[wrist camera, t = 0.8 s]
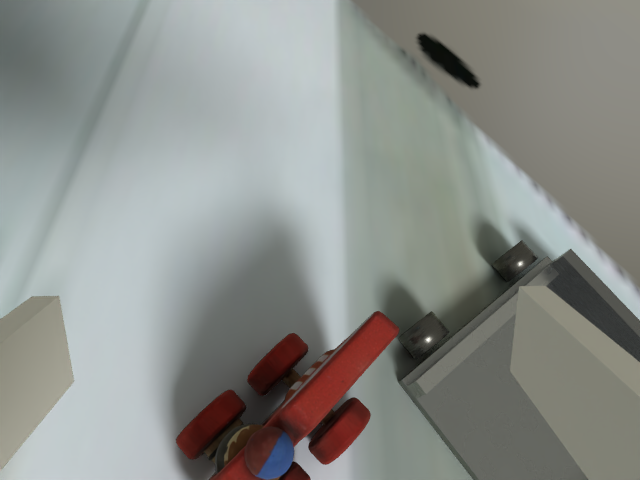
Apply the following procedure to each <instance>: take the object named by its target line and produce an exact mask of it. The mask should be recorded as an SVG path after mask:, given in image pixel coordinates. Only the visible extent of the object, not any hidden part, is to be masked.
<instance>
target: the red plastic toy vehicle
mask: <svg viewBox="0 0 640 480" xmlns="http://www.w3.org/2000/svg"><path fill="white" fill-rule="evenodd" d="M399 330H400V329H399V328H398V327H397V326H396V325H395V324H394V323H393V322H392V321H391V320H390V319H389V318H387V317H386V316H385V315H384V314H383V313H381V312H380V311H377V312H374V313H373V314H372V315H371V316H370V317H368V318H367V319H366V320H365V321H364V322H363V323H362V324H361V325H360V326H359V327H358V328H357V329H356V330H355V331H354V332H353V333H352V334H351V335H350V336H349V337H348V338H347V339H346V340H344V341H343V342H342V343H341V344H340V345H339V346H338V347H337V348H336V349H335V350H330V351H327V352H326V353H324V354H323V355H322V356H321V357H320V358H319V359H318V360H317V361H316V362H315V363H314V364H313V365H312V366H311V367H310V368H309V369H308V370H307V371H306V372H305V373H304V375H303V376H302V377H300V376H299V374H298V373H297V372H296V371H295V370H293V368H294V367H295V366H296V365H297V364H298V363H299V362H300V360H301V359H302V358H303V357H304V356H305V355H306V354H307V352H308V346H307V344H306V343H304V342H303V340H302V339H301V338H300V337H299V336H298V335H296V334H295V333H291V334H289V335H287V336H286V337H285V338H284V339H282V340H281V341H280V342H279V343H278V344H277V345H276V346H275V347H274V348H273V349H272V350H271V351H270V352H269V353H268V354H267V355H266V356H265V357H263V359H262V360H261V361H260V362H259V363H258V364H257V365H256V366H255V367H254V369H253V370H252V371H251V372H250V374H249V375H248V379H247V381H248V383H249V384H250V385H251V387H252V388H253V389H254V390H255V391H256V392H257V393H258V394H259V395H261V396H265V395H266V394H268V393H269V392H270V391H271V390H272V389H273V388H274V387H275V386H276V385H277V384H278V383H279V382H280V381H281V380H283V381H284V382H285V384H286V385H287V386H288V387H289V388H290V389H289V391H288V392H287V394H286V397H285V400H284V401H283V402H282V403H281V405H280V406H279V407H278V408H277V409H276V410H275V411H274V412H273V413H272V414H271V415H270V416H269V417H268V418H267V419H266V420H265V421H264V422H263V423H262V424H261V425H258V424H244V423H243V422H242V421H241V420H240V417H241V416H242V414H243V413H244V412H245V410H246V405H245V403H244V402H243V401H242V400H241V399H240V397H239V396H238V395H237V394H236V393H235V392H234V391H233V390H227V391H225V392H224V393H222V394H221V395H220V396H218V397H217V398H216V399H215V400H213V401H212V402H211V403H210V404H209V405H208V406H207V407H206V408H205V409H203V410H202V411H201V412H200V413H199V414H198V415H197V416H196V417H195V418H194V419H193V420H192V421H191V422H190V423H189V424H188V425H187V426H186V427H185V428H184V429H183V431H182V432H181V433H180V434H179V436H178V437H177V439H176V443H177V445H178V447H179V448H180V449H181V450H182V451H183V453H184V454H185V455H186V456H187V457H188V458H189V459H192V460H194V459H197V458H198V457H199V456H201V455H202V454H203V453H206V455H207V456H208V458H209V460H211V461H213V463H214V464H215V471H216V472H215V473H214V474H213V475H212V476H211V477H210V478H209V479H208V480H310V477H309V475H308V474H307V473H306V472H305V471H304V470H303V469H302V468H301V466H300V465H299V464H298V463H296V462H292V461H293V456H294V446H295V445H296V444H297V443H298V442H299V441H300V440H302V439H303V438H304V437H306V436H307V435H308V434H309V433H310V432H311V431H312V430H313V429H314V428H315V427H316V426H317V425H318V424H319V423H320V422H321V423H322V424H323V425H322V427H321V428H320V429H319V430H318V431H317V433H316V434H315V435H314V437H313V438H312V439H311V441H310V443H309V446H308V447H309V450H310V452H311V453H312V454H313V455H314V456H315V457H316V458H317V459H318V460H319V461H320V462H321V463H322V464H325V465H326V464H329V463H331V462H332V461H334V460H335V459H336V458H338V457H339V456H340V455H341V454H342V453H343V452H344V451H345V450H346V449H347V448H348V447H349V446H350V445H351V444H352V443H353V441H354V440H355V439H356V438H357V437H358V435H359V434H360V433H361V432H362V431H363V429H364V428H365V426H366V425H367V423H368V422H369V419H370V412H369V410H368V409H367V408H366V407H365V406H364V405H363V404H362V403H361V402H360V401H359V400H358V399H357V398H350V399H349V400H347V401H346V402H345V403H344V404H343V405H342V406H341V407H340V408H339V409H338V410H337V411H336V412H335V413H334V411H333V410H332V408H333V407H334V405H335V404H336V403H337V402H338V401H339V400H340V399H341V398H342V397H343V395H344V394H345V393H346V392H347V391H348V390H349V389H350V387H351V386H352V385H353V384H354V383H355V382H356V381H357V379H358V378H359V377H360V376H361V375H362V374H363V373H364V372H365V370H366V369H367V368H368V367H369V366H370V365H371V364H372V363H373V362H374V360H375V359H376V358H377V357H378V356H379V355H380V354H381V353H382V351H383V350H384V349H385V348H386V347H387V346H388V345H389V344H390V342H391V341H392V340H393V339H394V338H395V337H396V336H397V334H398V332H399Z"/></svg>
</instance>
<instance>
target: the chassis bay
mask: <svg viewBox="0 0 640 480" xmlns="http://www.w3.org/2000/svg"><path fill="white" fill-rule="evenodd" d="M536 259H538V257H537V256H536V255H535V253H534V252H533V251H532V250H531V249H530V248H529V247H528V246H527V245H526V244H525V243H524V242H523V241H520V242H519V243H518V244H516V245H515V246H514V247H513V248H511V249H510V250H509V251H508V252H506V253H505V254H504V255H503V256H501V257H500V258H499V259H498V260H496V261H495V262H494V263H493V264H492V265H493V266H494V267H495V269H496V270H497V271H498V272H499V273H500V274H501V275H502V276H503V277H504V279H505V280H506V281H507V282H508V281H509V280H511V279H512V278H514V277H515V276H516V275H518V274H519V273H520V272H522V271H523V270H524V269H525V268H527V267H528V266H529V265H530V264H532V263H533V262H534V261H535V260H536ZM519 286H546V287H548V288H549V289H550V290H551V291H553V292H554V293H555V294H556V295H557V296H559V297H560V298H561V299H562V300H564V301H565V302H566V303H567V304H569V305H570V306H571V307H572V308H573V309H575V310H576V311H577V312H578V313H580V314H581V315H582V316H583V317H585V318H586V319H587V320H588V321H589V322H591V323H592V324H593V325H594V326H596V327H597V328H598V329H599V330H601V331H602V332H603V333H604V334H606V335H607V336H608V337H609V338H610V339H612V340H613V341H614V342H615V343H617V344H618V345H619V346H620V347H622V348H623V349H624V350H625V351H626V352H628V353H629V354H630V355H631V356H633V357H634V358H635V359H636V360H638V361H639V362H640V320H639V319H638V318H637V317H636V316H635V315H634V314H633V313H632V312H631V311H630V310H629V309H628V308H627V307H626V306H625V305H624V304H623V303H622V302H621V301H620V300H619V298H618V297H617V296H616V295H615V294H614V293H613V292H612V291H611V290H610V289H609V288H608V287H607V286H606V285H605V284H604V283H603V282H602V281H601V280H600V279H599V278H598V277H597V276H596V275H595V273H594V272H593V271H592V270H591V269H590V268H589V267H588V266H587V265H586V264H585V263H584V262H583V261H582V260H581V259H580V258H579V257H578V256H577V255H576V254H575V253H574V252H573V251H572V250H571V249H570V250H568V251H567V252H565V253H564V254H562V255H561V256H560V257H558V258H557V259H555V260H554V261H551V260H550V259H549V258H548V257H546V258H544V259H543V260H542V261H541V262H540V263H538V264H537V265H536V266H535V267H534V268H532V269H531V270H530V271H529V272H528V273H527V274H525V275H524V276H523V277H522V278H521V279H519V280H518V281H517V282H516V283H515V284H514V285H512V286H511V287H510V288H509V289H508V290H507V291H505V292H504V293H503V294H502V295H501V296H499V297H498V298H497V299H496V300H495V301H494V302H492V303H491V304H490V305H489V306H488V307H487V308H485V309H484V310H483V311H482V312H481V313H479V314H478V315H477V316H476V317H475V318H474V319H472V320H471V321H470V322H469V323H468V324H467V325H465V326H464V327H463V328H462V329H461V330H459V331H458V332H457V333H456V334H455V335H454V336H452V337H451V338H450V339H449V340H448V341H447V342H445V343H444V344H443V345H442V346H441V347H439V348H438V349H437V350H436V351H435V352H434V353H432V354H431V355H430V356H429V357H428V358H427V359H425V360H424V361H423V362H422V363H421V364H419V365H418V366H417V367H416V368H415V369H414V370H412V371H411V372H410V373H409V374H408V375H407V376H405V377H404V378H403V379H402V380H401V381H399V384H400V385H401V386H402V388H403V389H404V390H405V391H406V393H407V394H408V395H409V397H410V398H411V399H412V400H413V402H414V403H415V404H416V406H417V407H418V408H419V410H420V411H421V412H422V413H423V415H424V416H425V417H426V419H427V420H428V421H429V422H430V424H431V425H432V426H433V428H434V429H435V430H436V432H437V433H438V434H439V435H440V437H441V438H442V439H443V441H444V442H445V443H446V444H447V446H448V447H449V448H450V450H451V451H452V452H453V454H454V455H455V456H456V457H457V459H458V460H459V461H460V463H461V464H462V465H463V466H464V468H465V469H466V470H467V472H468V473H469V474H470V475H471V477H472V478H473V479H474V480H588V478H587V477H586V475H585V474H584V473H583V471H582V470H581V469H580V467H579V466H578V464H577V463H576V462H575V460H574V459H573V458H572V456H571V455H570V453H569V452H568V451H567V449H566V448H565V446H564V445H563V444H562V442H561V441H560V440H559V438H558V437H557V435H556V434H555V433H554V431H553V430H552V429H551V427H550V426H549V424H548V423H547V422H546V420H545V419H544V417H543V416H542V415H541V413H540V412H539V411H538V409H537V408H536V406H535V405H534V404H533V402H532V401H531V399H530V398H529V397H528V395H527V394H526V393H525V391H524V390H523V388H522V387H521V386H520V384H519V383H518V382H517V380H516V379H515V377H514V376H513V375H512V373H511V372H510V366H511V356H512V347H513V337H514V328H515V319H516V309H517V300H518V290H519ZM448 333H449V331H448V330H447V329H446V327H445V326H444V325H443V324H442V323H441V321H440V320H439V319H438V318H437V317H436V315H435V314H434V313H433V312H432V311H431V312H430V313H429V314H427V315H426V316H425V317H424V318H422V319H421V320H420V321H419V322H417V323H416V324H415V325H414V326H412V327H411V328H410V329H409V330H407V331H406V332H405V333H404V334H402V335H401V336H400V337H399V338H398V339H399V340H400V341H401V342H402V344H403V345H404V346H405V347H406V349H407V350H408V351H409V352H410V354H411V355H412V356H413V357H414V359H417V358H418V357H419V356H421V355H422V354H424V353H425V352H426V351H427V350H429V349H430V348H431V347H433V346H434V345H435V344H436V343H438V342H439V341H440V340H441V339H442V338H444V337H445V336H446V335H447V334H448Z"/></svg>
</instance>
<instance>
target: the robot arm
mask: <svg viewBox="0 0 640 480" xmlns="http://www.w3.org/2000/svg"><path fill="white" fill-rule="evenodd" d="M510 372H511V373H512V375H513V376H514V377H515V379H516V380H517V382H518V383H519V384H520V386H521V387H522V388H523V390H524V391H525V393H526V394H527V395H528V397H529V398H530V399H531V401H532V402H533V404H534V405H535V406H536V408H537V409H538V411H539V412H540V413H541V415H542V416H543V417H544V419H545V420H546V422H547V423H548V424H549V426H550V427H551V429H552V430H553V431H554V433H555V434H556V435H557V437H558V438H559V440H560V441H561V442H562V444H563V445H564V446H565V448H566V449H567V451H568V452H569V453H570V455H571V456H572V458H573V459H574V460H575V462H576V463H577V464H578V466H579V467H580V469H581V470H582V471H583V473H584V474H585V475H586V477H587V478H588V480H640V362H639V361H638V360H636V359H635V358H634V357H633V356H631V355H630V354H629V353H628V352H626V351H625V350H624V349H623V348H622V347H620V346H619V345H618V344H617V343H615V342H614V341H613V340H612V339H610V338H609V337H608V336H607V335H606V334H604V333H603V332H602V331H601V330H599V329H598V328H597V327H596V326H594V325H593V324H592V323H591V322H589V321H588V320H587V319H586V318H585V317H583V316H582V315H581V314H580V313H578V312H577V311H576V310H575V309H573V308H572V307H571V306H570V305H569V304H567V303H566V302H565V301H564V300H562V299H561V298H560V297H559V296H557V295H556V294H555V293H554V292H553V291H551V290H550V289H549V288H548V287H546V286H519V290H518V300H517V309H516V319H515V328H514V337H513V347H512V356H511V366H510ZM73 382H74V377H73V372H72V366H71V360H70V355H69V349H68V343H67V338H66V332H65V326H64V321H63V315H62V310H61V304H60V298H59V296H35V297H31V298H29V299H28V300H26V301H25V302H24V303H22V304H21V305H20V306H18V307H17V308H15V309H14V310H13V311H11V312H10V313H9V314H7V315H6V316H4V317H3V318H2V319H0V471H1V470H2V469H3V467H4V466H5V465H6V464H7V462H8V461H9V460H10V459H11V458H12V456H13V455H14V454H15V453H16V452H17V450H18V449H19V448H20V447H21V445H22V444H23V443H24V442H25V441H26V439H27V438H28V437H29V436H30V435H31V433H32V432H33V431H34V430H35V428H36V427H37V426H38V425H39V424H40V422H41V421H42V420H43V419H44V417H45V416H46V415H47V414H48V413H49V411H50V410H51V409H52V408H53V407H54V405H55V404H56V403H57V402H58V400H59V399H60V398H61V397H62V396H63V394H64V393H65V392H66V391H67V390H68V388H69V387H70V386H71V385H72V383H73Z"/></svg>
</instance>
